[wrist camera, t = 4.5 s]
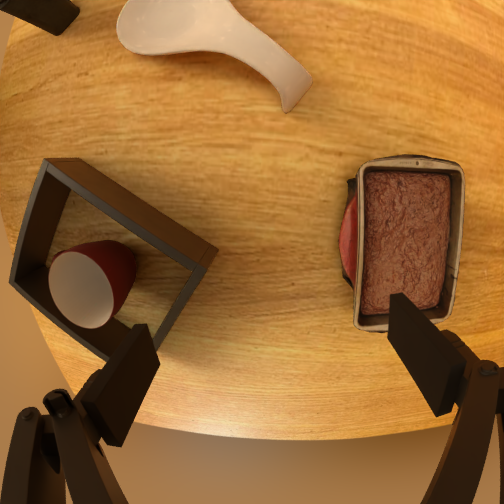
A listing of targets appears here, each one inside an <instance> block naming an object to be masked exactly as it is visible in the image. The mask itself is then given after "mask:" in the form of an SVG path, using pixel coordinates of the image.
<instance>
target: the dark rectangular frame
mask: <svg viewBox="0 0 504 504" xmlns="http://www.w3.org/2000/svg"><path fill="white" fill-rule="evenodd" d="M71 189H72V190H73V191H74V192H76V193H77V194H78V195H80V196H81V197H83V198H84V199H85V200H87V201H88V202H90V203H91V204H92V205H94V206H95V207H97V208H98V209H100V210H101V211H102V212H104V213H105V214H107V215H108V216H110V217H111V218H112V219H114V220H115V221H117V222H118V223H120V224H121V225H123V226H124V227H125V228H127V229H128V230H130V231H131V232H133V233H134V234H136V235H137V236H139V237H140V238H142V239H143V240H145V241H146V242H148V243H149V244H151V245H152V246H154V247H155V248H157V249H158V250H160V251H161V252H163V253H164V254H166V255H167V256H169V257H170V258H172V259H173V260H175V261H176V262H178V263H180V264H181V265H183V266H184V267H186V268H187V269H189V270H190V271H192V272H193V273H192V275H191V276H190V278H189V280H188V281H187V283H186V284H185V286H184V288H183V289H182V291H181V293H180V294H179V296H178V298H177V299H176V301H175V303H174V304H173V306H172V308H171V309H170V311H169V313H168V314H167V316H166V318H165V319H164V321H163V323H162V324H161V326H160V328H159V330H158V331H157V333H156V335H155V336H154V338H153V340H152V341H153V344H154V347H155V350H156V352H157V350H158V348H159V347H160V345H161V343H162V342H163V340H164V339H165V337H166V335H167V334H168V332H169V330H170V329H171V327H172V326H173V324H174V322H175V321H176V319H177V318H178V316H179V314H180V313H181V311H182V310H183V308H184V306H185V305H186V303H187V302H188V300H189V298H190V297H191V295H192V294H193V292H194V290H195V289H196V287H197V286H198V284H199V283H200V281H201V279H202V278H203V276H204V275H205V273H206V272H207V270H208V268H209V266H210V264H211V263H212V261H213V259H214V257H215V255H216V253H217V252H218V249H217V248H215V247H214V246H212V245H211V244H209V243H208V242H206V241H204V240H203V239H201V238H200V237H198V236H197V235H195V234H194V233H192V232H190V231H189V230H187V229H186V228H184V227H183V226H181V225H180V224H178V223H177V222H175V221H173V220H172V219H170V218H169V217H167V216H166V215H164V214H163V213H161V212H160V211H158V210H157V209H155V208H154V207H152V206H150V205H149V204H147V203H146V202H144V201H143V200H141V199H140V198H138V197H137V196H135V195H134V194H132V193H131V192H129V191H128V190H126V189H125V188H123V187H122V186H120V185H119V184H117V183H116V182H114V181H113V180H111V179H109V178H108V177H106V176H105V175H103V174H102V173H100V172H99V171H97V170H96V169H94V168H93V167H91V166H90V165H89V164H87V163H86V162H84V161H83V160H81V159H80V158H44V159H43V162H42V164H41V167H40V170H39V172H38V175H37V178H36V180H35V183H34V186H33V189H32V192H31V195H30V198H29V201H28V204H27V208H26V211H25V214H24V218H23V221H22V225H21V229H20V232H19V236H18V240H17V244H16V249H15V253H14V258H13V262H12V267H11V273H10V278H9V283H10V284H11V285H12V286H13V287H14V288H15V289H16V290H17V291H18V292H19V293H20V294H21V295H22V296H23V297H24V298H26V300H28V301H29V302H30V303H31V304H32V305H33V306H34V307H35V308H37V309H38V310H39V311H40V312H41V313H42V314H44V315H45V316H46V317H47V318H48V319H50V320H51V321H52V322H53V323H54V324H56V325H57V326H58V327H59V328H61V329H62V330H63V331H64V332H66V333H67V334H68V335H70V336H71V337H72V338H74V339H75V340H76V341H78V342H79V343H80V344H82V345H83V346H84V347H86V348H87V349H88V350H90V351H91V352H93V353H94V354H95V355H97V356H98V357H100V358H101V359H103V360H104V361H106V362H107V361H108V360H109V359H110V357H111V356H112V355H113V353H114V352H115V350H116V349H117V348H118V346H119V345H120V344H121V342H122V341H123V340H124V338H125V337H126V336H127V334H128V333H129V331H130V330H131V329H130V328H128V327H127V326H125V325H124V324H122V323H121V322H119V321H118V320H116V319H115V318H114V317H112V318H111V319H110V320H109V321H108V322H107V323H106V324H105V325H103V326H101V327H99V328H95V329H87V328H83V327H80V326H77V325H75V324H74V323H72V322H71V321H69V320H68V319H67V318H66V317H65V316H64V315H63V314H62V313H61V312H60V310H59V309H58V308H57V306H56V304H55V303H54V301H53V298H52V296H51V293H50V289H49V281H48V277H49V270H50V269H49V268H48V267H47V266H46V265H45V262H46V258H47V255H48V252H49V248H50V245H51V242H52V239H53V236H54V233H55V230H56V227H57V224H58V222H59V219H60V216H61V213H62V211H63V208H64V205H65V203H66V200H67V198H68V195H69V193H70V190H71Z"/></svg>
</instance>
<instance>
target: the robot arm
mask: <svg viewBox="0 0 504 504" xmlns="http://www.w3.org/2000/svg"><path fill="white" fill-rule="evenodd" d="M387 338H388V340H389V342H390V343H391V345H392V346H393V348H394V349H395V351H396V352H397V354H398V356H399V357H400V359H401V360H402V362H403V363H404V365H405V367H406V368H407V370H408V371H409V373H410V375H411V376H412V378H413V379H414V381H415V383H416V384H417V386H418V388H419V389H420V391H421V393H422V394H423V396H424V398H425V399H426V401H427V403H428V404H429V406H430V408H431V410H432V411H433V413H434V415H435V416H436V417H439V416H442V415H444V414H447V413H450V412H451V411H452V408H453V405H454V402H455V403H456V404H457V406H458V407H459V408H458V411H457V414H456V416H455V419H454V421H453V424H452V425H453V427H452V430H451V433H450V436H449V439H448V441H447V444H446V447H445V450H444V452H443V454H442V457H441V460H440V462H439V464H438V467H437V469H436V472H435V474H434V476H433V479H432V481H431V483H430V485H429V487H428V489H427V492H426V494H425V496H424V498H423V500H422V502H421V504H472V502H473V499H474V496H475V493H476V490H477V487H478V484H479V481H480V478H481V474H482V471H483V467H484V464H485V460H486V456H487V452H488V448H489V443H490V439H491V434H492V429H493V423H494V418H495V414H496V416H497V424H498V433H499V448H500V474H501V475H500V477H501V478H500V504H504V367H501V368H499V366H498V365H497V364H496V363H494V362H493V361H489V360H480V359H479V358H478V357H477V356H476V355H475V354H474V353H473V352H472V350H471V349H470V348H469V347H468V346H467V345H465V343H464V342H463V341H461V339H460V338H459V337H458V336H457V335H456V334H455V333H453V332H451V331H449V330H447V329H446V330H443V331H440V330H439V329H438V328H437V327H436V326H435V325H434V324H433V323H432V322H431V321H430V320H429V319H428V318H427V317H426V316H425V315H424V314H423V312H422V311H421V310H420V309H419V308H418V307H417V306H416V305H415V304H414V303H413V302H412V301H411V300H410V299H409V298H408V297H407V296H406V295H405V294H404V293H403V292H400V293H395V294H390V301H389V321H388V336H387ZM159 366H160V361H159V359H158V356H157V353H156V350H155V347H154V344H153V341H152V338H151V335H150V332H149V329H148V325H147V324H135V325H134V326H133V327H132V329H131V330H130V331H129V333H128V334H127V336H126V337H125V338H124V340H123V341H122V342H121V344H120V345H119V346H118V348H117V349H116V350H115V352H114V353H113V355H112V356H111V357H110V359H109V360H108V361H107V363H106V364H105V366H104V367H103V368H102V369H98V370H97V371H96V372H94V373H93V374H92V375H91V376H90V377H89V379H88V380H87V383H85V384H84V385H83V388H81V390H80V391H79V392H78V394H77V395H76V397H75V398H74V399H73V401H72V399H71V397H70V395H69V394H68V392H67V390H64V389H56V390H53V391H51V392H49V393H48V394H47V395H46V396H45V397H44V399H43V404H44V405H45V407H46V409H47V410H48V412H49V414H50V415H41V413H40V412H39V410H38V409H37V408H35V407H28V408H25V409H23V410H22V411H21V412H20V413H19V415H18V417H17V419H16V423H15V427H14V431H13V435H12V439H11V443H10V447H9V452H8V457H7V461H6V467H5V473H4V479H3V484H2V491H1V499H0V504H66V495H65V494H66V490H65V479H66V482H67V486H68V489H69V492H70V495H71V498H72V501H73V504H128V501H127V500H126V498H125V496H124V494H123V492H122V490H121V488H120V486H119V484H118V482H117V480H116V478H115V476H114V474H113V472H112V470H111V467H110V465H109V463H108V461H107V459H106V456H105V454H104V451H103V449H102V447H101V445H100V444H99V440H100V439H101V437H102V438H103V440H104V441H105V443H106V444H107V445H110V446H116V447H122V445H123V443H124V440H125V438H126V436H127V434H128V432H129V429H130V427H131V425H132V423H133V421H134V419H135V416H136V414H137V412H138V410H139V408H140V406H141V404H142V402H143V399H144V397H145V395H146V393H147V391H148V389H149V387H150V385H151V383H152V380H153V378H154V376H155V374H156V372H157V370H158V368H159Z"/></svg>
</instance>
